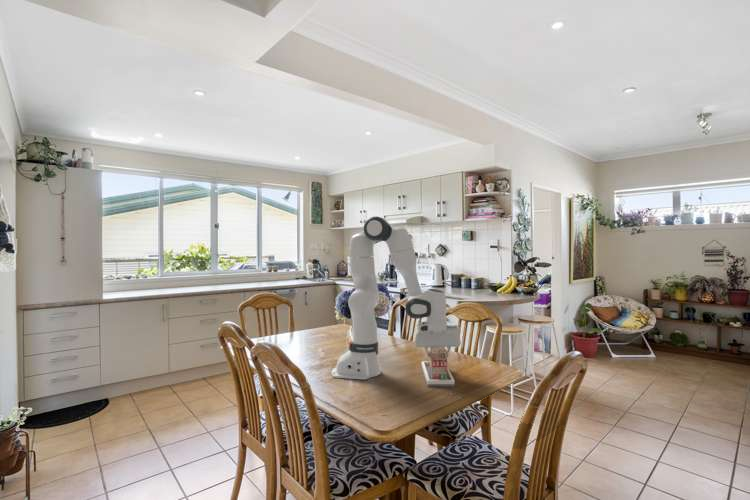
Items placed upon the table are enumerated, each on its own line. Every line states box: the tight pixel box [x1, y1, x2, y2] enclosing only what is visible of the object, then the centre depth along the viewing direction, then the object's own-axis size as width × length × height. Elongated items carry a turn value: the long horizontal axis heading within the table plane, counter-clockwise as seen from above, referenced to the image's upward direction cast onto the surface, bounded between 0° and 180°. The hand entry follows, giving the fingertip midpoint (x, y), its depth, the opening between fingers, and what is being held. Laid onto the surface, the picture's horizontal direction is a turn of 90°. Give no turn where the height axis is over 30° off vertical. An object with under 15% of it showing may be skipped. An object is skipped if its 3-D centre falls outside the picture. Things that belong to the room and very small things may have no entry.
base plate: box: [421, 360, 456, 388], centre depth 164 cm, size 11×26×2 cm, turn 178°
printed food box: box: [428, 347, 448, 380], centre depth 164 cm, size 21×6×12 cm, turn 175°
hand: (437, 356), depth 164 cm, fingers open, 6 cm apart
